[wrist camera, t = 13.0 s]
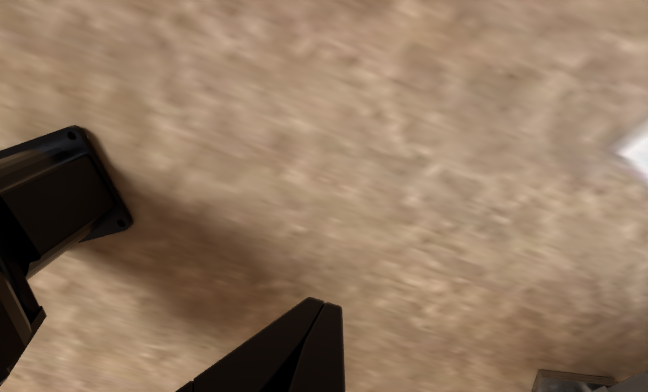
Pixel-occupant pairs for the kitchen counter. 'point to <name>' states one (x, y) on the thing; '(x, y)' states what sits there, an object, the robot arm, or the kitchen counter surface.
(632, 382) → the hinge panel
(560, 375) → the hinge post
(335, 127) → the kitchen counter surface
